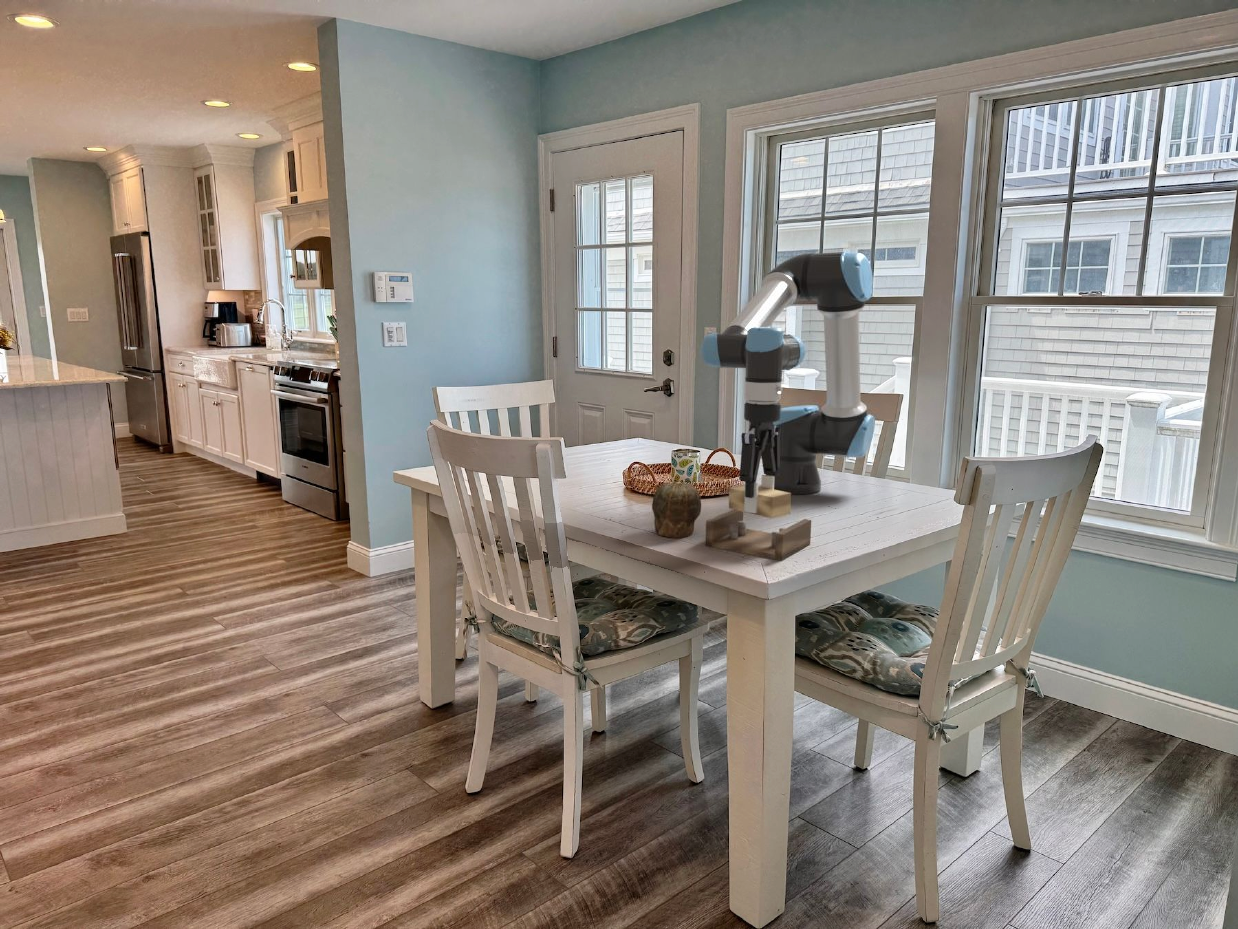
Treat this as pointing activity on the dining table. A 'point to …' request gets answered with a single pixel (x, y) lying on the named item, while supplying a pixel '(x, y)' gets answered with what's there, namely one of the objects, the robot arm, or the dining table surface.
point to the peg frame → (756, 537)
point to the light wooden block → (762, 501)
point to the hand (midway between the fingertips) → (759, 508)
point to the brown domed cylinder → (676, 509)
